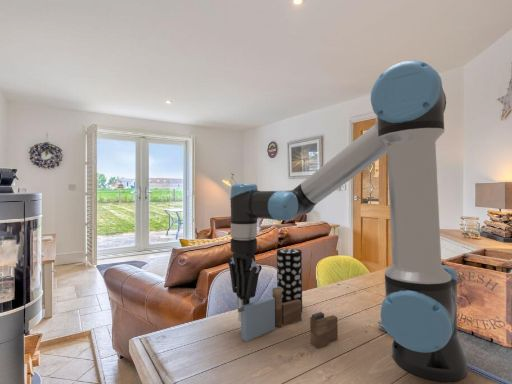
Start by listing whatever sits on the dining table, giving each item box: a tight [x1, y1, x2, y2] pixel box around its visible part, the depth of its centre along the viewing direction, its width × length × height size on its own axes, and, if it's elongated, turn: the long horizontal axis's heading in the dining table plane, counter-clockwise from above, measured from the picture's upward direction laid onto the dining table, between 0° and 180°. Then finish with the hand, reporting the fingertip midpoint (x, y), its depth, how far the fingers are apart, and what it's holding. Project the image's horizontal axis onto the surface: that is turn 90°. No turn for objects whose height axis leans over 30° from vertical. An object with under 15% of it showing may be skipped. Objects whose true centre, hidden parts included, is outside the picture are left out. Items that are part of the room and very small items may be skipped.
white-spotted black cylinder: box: [276, 248, 303, 313], centre depth 101 cm, size 8×8×20 cm
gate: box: [237, 296, 276, 342], centre depth 84 cm, size 12×2×9 cm, turn 131°
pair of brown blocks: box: [272, 287, 339, 349], centre depth 85 cm, size 17×10×11 cm, turn 31°
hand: (243, 319), depth 86 cm, fingers closed
